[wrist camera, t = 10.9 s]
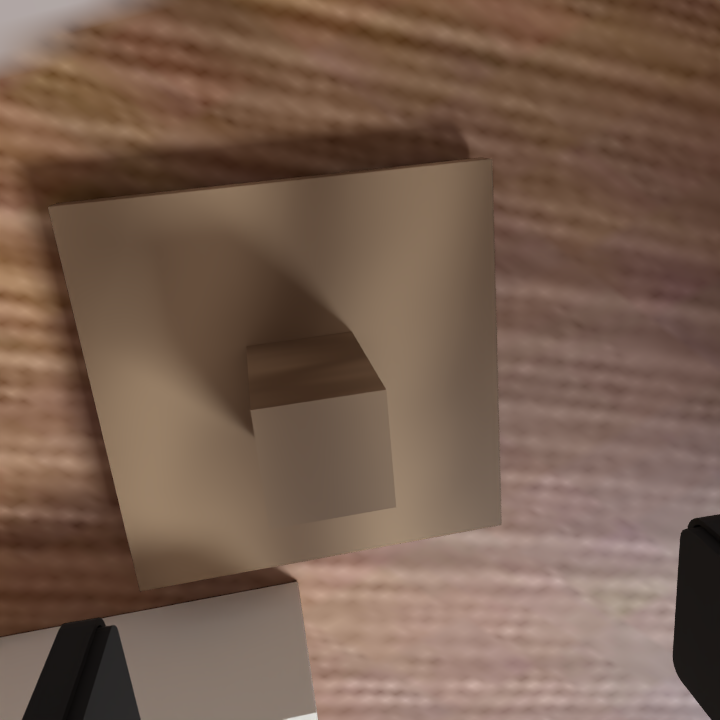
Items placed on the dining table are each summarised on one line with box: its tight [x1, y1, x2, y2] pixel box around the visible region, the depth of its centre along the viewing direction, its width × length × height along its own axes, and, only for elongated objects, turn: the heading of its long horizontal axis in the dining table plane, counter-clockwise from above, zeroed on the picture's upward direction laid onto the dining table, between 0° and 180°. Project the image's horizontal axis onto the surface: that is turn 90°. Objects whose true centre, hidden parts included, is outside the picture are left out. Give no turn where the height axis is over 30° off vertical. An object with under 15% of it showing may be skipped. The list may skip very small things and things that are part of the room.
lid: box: [48, 158, 502, 591], centre depth 19 cm, size 12×12×6 cm
